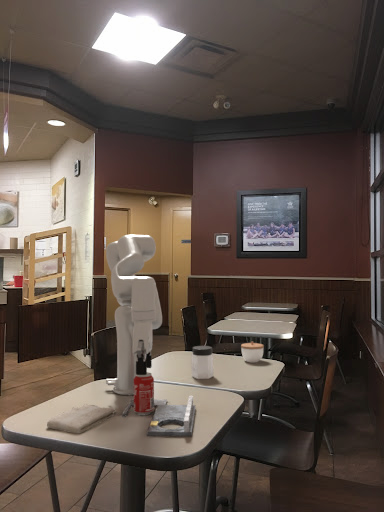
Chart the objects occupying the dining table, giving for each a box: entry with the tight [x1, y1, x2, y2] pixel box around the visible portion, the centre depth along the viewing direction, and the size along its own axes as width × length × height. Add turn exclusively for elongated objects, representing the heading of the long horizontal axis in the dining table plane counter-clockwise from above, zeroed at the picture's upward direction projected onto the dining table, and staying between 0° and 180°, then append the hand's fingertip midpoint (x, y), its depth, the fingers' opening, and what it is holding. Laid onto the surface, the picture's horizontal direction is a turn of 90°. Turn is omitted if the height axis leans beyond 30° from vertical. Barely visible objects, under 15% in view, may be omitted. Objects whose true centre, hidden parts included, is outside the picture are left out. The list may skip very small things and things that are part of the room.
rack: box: [146, 395, 196, 438], centre depth 130 cm, size 12×23×4 cm, turn 177°
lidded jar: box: [240, 341, 265, 364], centre depth 210 cm, size 11×11×9 cm
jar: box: [191, 345, 214, 380], centre depth 182 cm, size 9×8×12 cm
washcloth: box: [46, 403, 115, 434], centre depth 131 cm, size 12×18×3 cm, turn 156°
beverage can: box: [133, 371, 155, 416], centre depth 138 cm, size 6×6×12 cm
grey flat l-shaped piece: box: [121, 398, 168, 418], centre depth 141 cm, size 12×16×1 cm
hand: (144, 371), depth 137 cm, fingers open, 9 cm apart
